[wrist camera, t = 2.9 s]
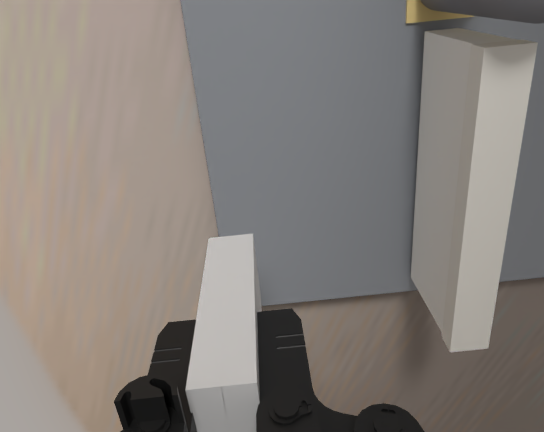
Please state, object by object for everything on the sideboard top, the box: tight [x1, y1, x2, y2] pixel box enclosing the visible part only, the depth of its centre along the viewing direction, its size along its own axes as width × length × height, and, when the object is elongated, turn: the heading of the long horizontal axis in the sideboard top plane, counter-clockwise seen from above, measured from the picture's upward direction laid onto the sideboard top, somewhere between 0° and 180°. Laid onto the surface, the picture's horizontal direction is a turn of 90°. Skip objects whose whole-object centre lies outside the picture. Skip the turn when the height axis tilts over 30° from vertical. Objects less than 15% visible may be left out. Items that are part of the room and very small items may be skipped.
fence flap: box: [411, 28, 538, 352], centre depth 16 cm, size 10×1×5 cm, turn 5°
